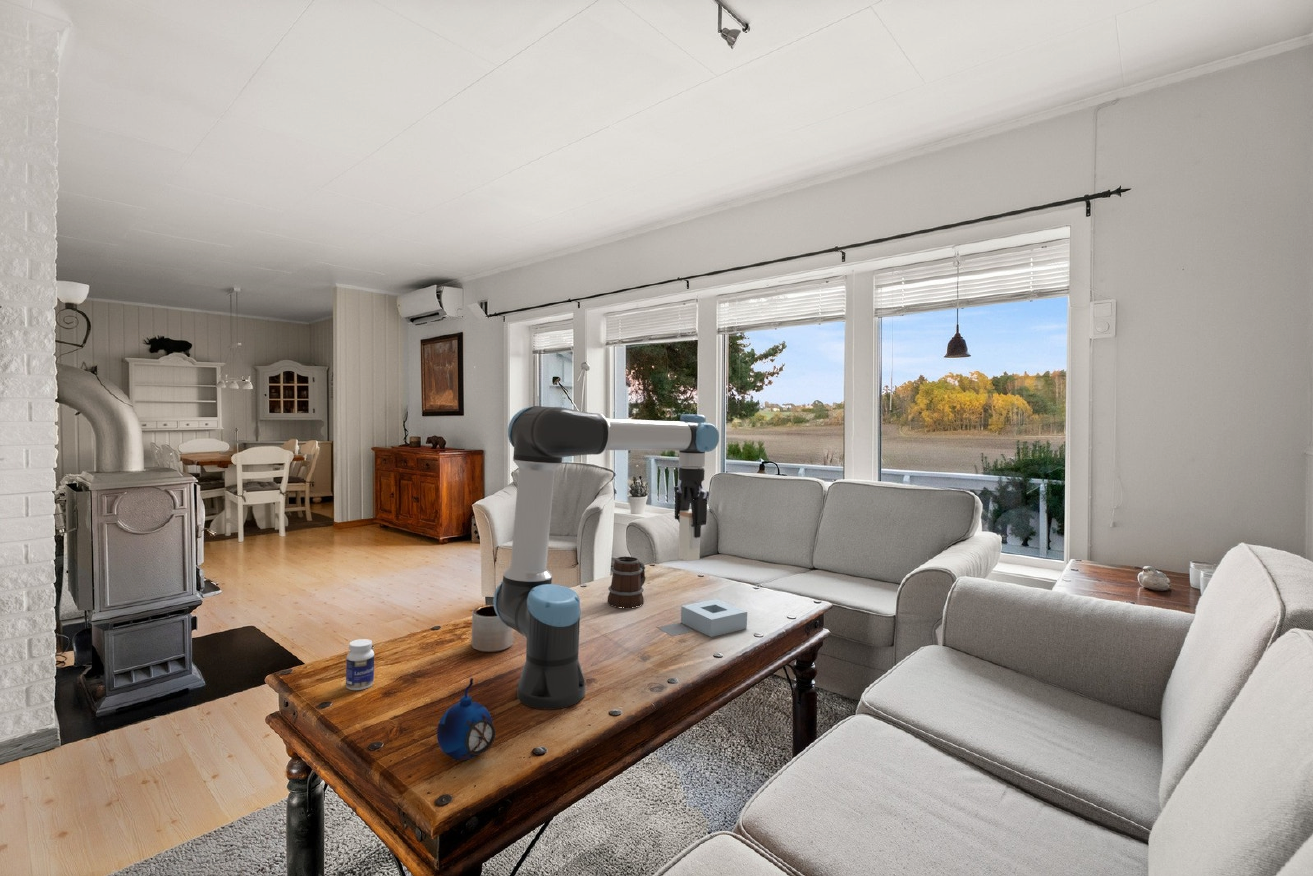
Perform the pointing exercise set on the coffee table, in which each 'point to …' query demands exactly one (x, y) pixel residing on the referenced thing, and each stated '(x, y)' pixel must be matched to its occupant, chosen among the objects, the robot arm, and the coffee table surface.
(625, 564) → the mug
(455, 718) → the bomb
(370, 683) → the pill bottle
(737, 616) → the socket block
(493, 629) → the planter
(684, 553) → the peg
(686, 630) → the mat
